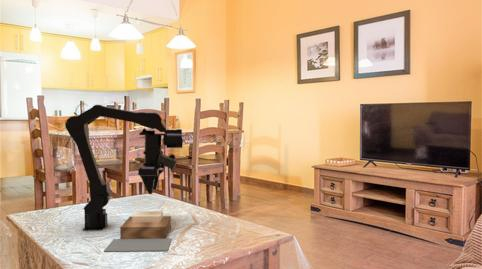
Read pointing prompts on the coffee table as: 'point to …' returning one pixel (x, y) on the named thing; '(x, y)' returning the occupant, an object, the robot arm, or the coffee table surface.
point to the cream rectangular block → (147, 216)
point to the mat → (138, 245)
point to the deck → (145, 229)
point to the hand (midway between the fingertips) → (152, 191)
